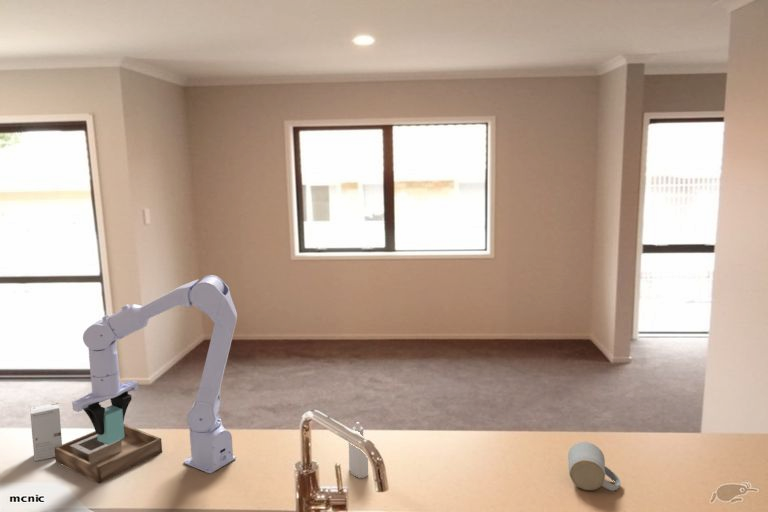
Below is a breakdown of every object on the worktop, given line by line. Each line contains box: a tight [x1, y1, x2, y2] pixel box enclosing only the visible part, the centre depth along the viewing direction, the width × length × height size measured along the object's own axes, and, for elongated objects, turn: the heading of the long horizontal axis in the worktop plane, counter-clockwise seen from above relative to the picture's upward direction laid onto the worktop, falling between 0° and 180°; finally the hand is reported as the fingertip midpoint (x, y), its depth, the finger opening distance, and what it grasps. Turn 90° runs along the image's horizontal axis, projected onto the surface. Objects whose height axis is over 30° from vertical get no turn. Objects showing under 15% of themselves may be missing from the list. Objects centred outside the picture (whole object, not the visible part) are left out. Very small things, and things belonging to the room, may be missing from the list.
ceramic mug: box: [567, 441, 621, 492], centre depth 116 cm, size 11×8×8 cm
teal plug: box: [97, 404, 125, 445], centre depth 123 cm, size 4×4×7 cm
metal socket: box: [70, 434, 122, 464], centre depth 129 cm, size 8×8×3 cm
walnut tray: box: [54, 423, 163, 484], centre depth 130 cm, size 18×16×4 cm
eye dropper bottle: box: [348, 421, 369, 479], centre depth 121 cm, size 4×6×12 cm
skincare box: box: [29, 402, 63, 462], centre depth 130 cm, size 6×4×12 cm
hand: (109, 429), depth 123 cm, fingers closed on teal plug, 4 cm apart
